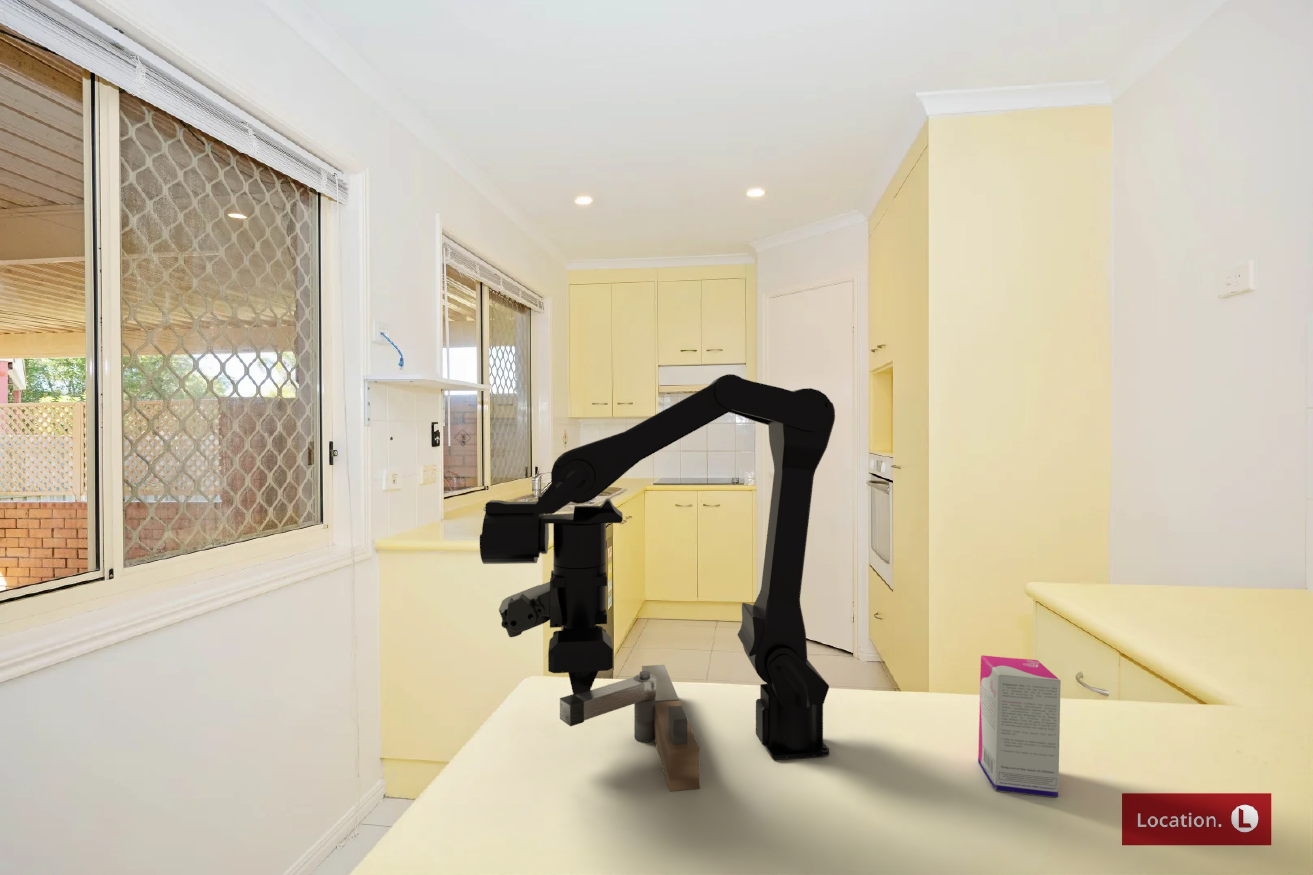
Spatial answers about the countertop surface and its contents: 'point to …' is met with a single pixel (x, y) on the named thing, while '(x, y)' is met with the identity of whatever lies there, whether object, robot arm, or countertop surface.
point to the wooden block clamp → (668, 732)
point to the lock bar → (607, 698)
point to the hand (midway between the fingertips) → (580, 702)
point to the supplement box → (1019, 726)
